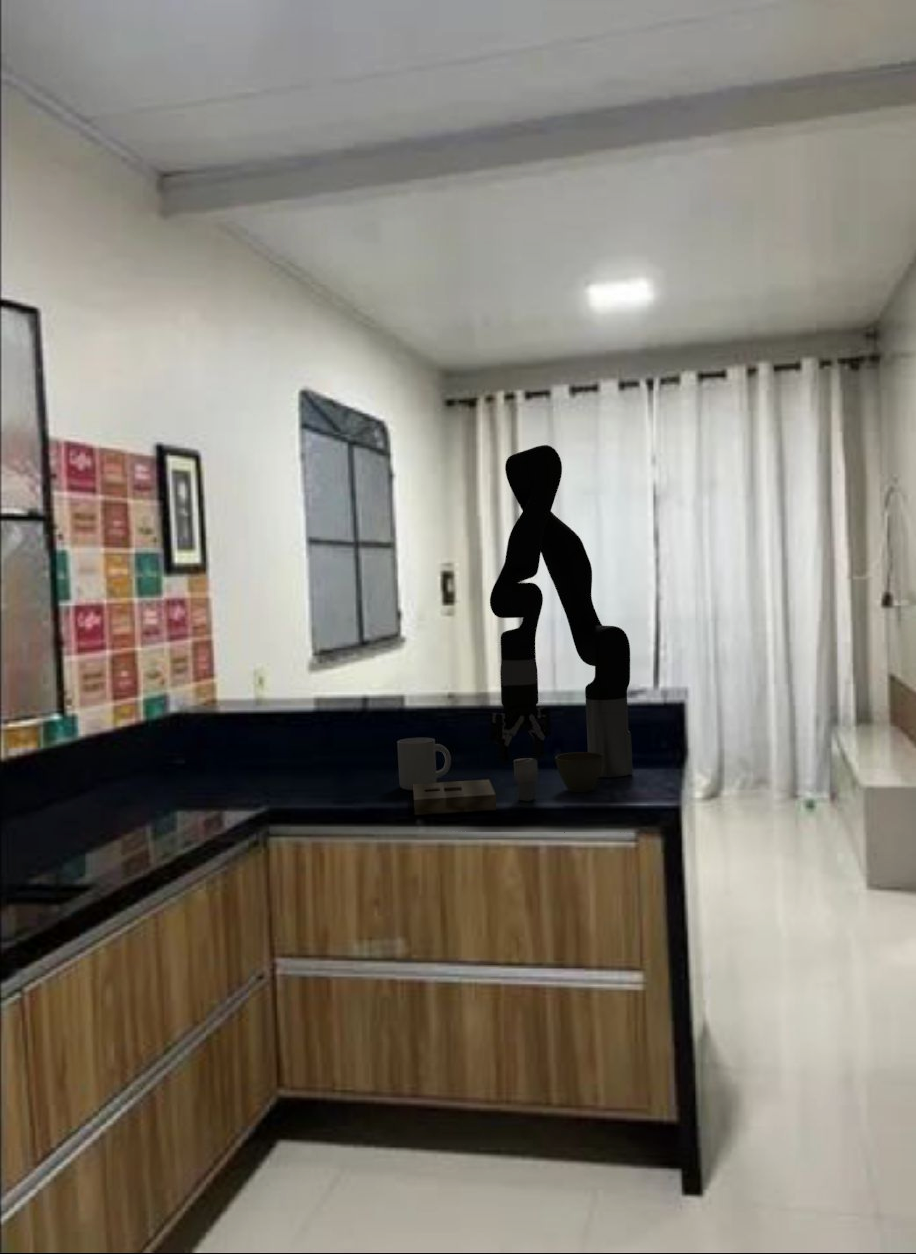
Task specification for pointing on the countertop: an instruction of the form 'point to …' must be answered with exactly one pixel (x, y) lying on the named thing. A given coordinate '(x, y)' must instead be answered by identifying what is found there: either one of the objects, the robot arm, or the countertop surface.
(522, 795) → the knob
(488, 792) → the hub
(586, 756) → the yellowish brown bowl
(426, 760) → the mug
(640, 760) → the countertop surface
